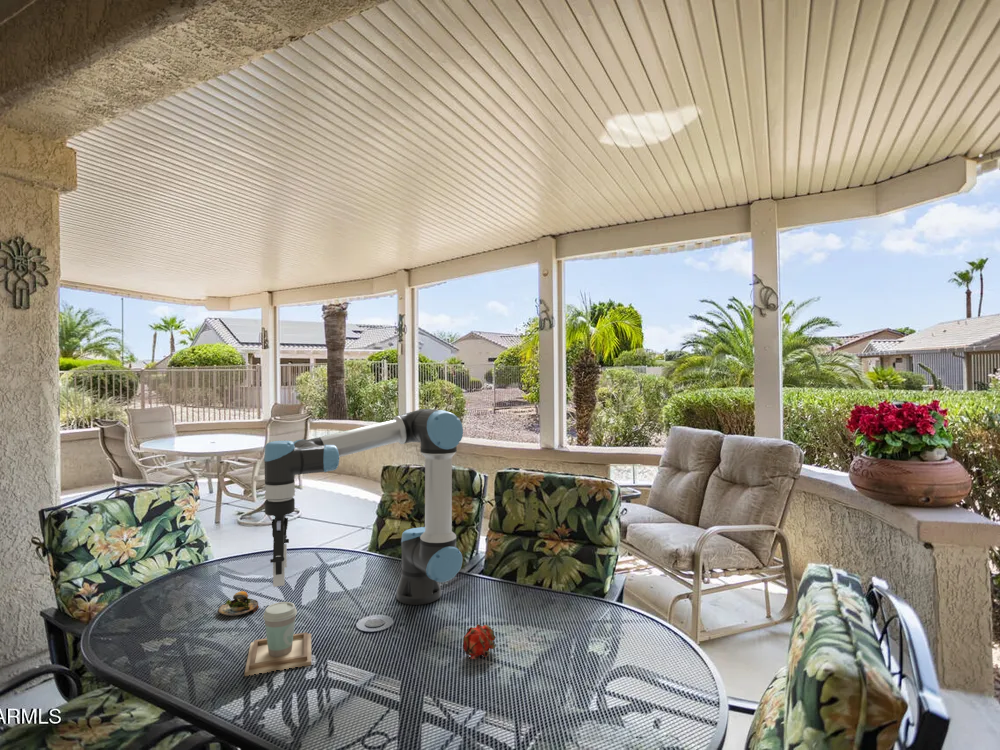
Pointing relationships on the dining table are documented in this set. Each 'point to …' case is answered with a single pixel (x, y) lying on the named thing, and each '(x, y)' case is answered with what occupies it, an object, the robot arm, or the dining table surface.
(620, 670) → the dining table surface
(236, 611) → the burger
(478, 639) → the dragon fruit
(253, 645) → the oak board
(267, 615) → the coffee cup
